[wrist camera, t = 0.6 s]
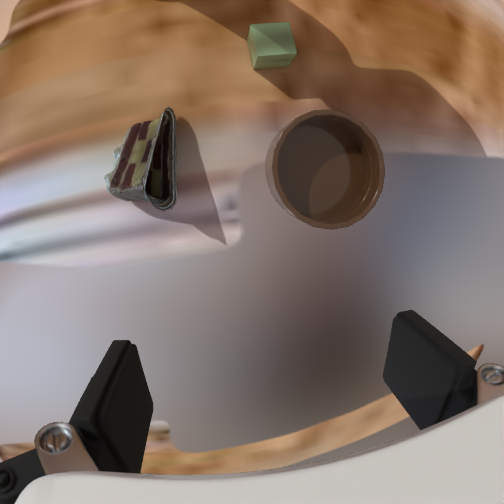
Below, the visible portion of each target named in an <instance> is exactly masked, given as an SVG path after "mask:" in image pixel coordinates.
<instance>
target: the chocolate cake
mask: <svg viewBox="0 0 504 504" xmlns="http://www.w3.org/2000/svg"><path fill="white" fill-rule="evenodd" d="M176 125H177V123H176V120H175V114H174V111H173V110H172V108H170V107H167V108H166V109H165V111H164V112H163V113H162V114H161V116H160V119H156V120H155V121H146V122H143V123H138V124H135V125H133V126H132V127H131V128H129V130H128V132H127V134H126V136H125V138H124V142H123V144H122V146H121V147H120V148H116V149H115V150H114V153H113V155H114V156H115V157H116V159H117V160H116V162H115V165H114V169H113V171H112V172H111V173H109V174H107V175H105V177H104V180H105V181H106V182H107V183H108V184H107V187H106V189H107V191H109V193H110V194H112V195H113V196H115V197H117V198H120V199H123V200H125V201H132V200H145V201H147V202H148V201H149V202H150V203H152V205H153V206H155V207H156V208H157V209H159V210H162V211H166V210H169V209H172V207H173V206H174V205H175V204H176V199H177V187H176V182H177V180H176V147H175V145H176V144H175V143H176V142H175V141H176Z"/></svg>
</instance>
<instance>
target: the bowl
mask: <svg viewBox="0 0 504 504" xmlns="http://www.w3.org/2000/svg"><path fill="white" fill-rule="evenodd" d="M384 176H385V167H384V160H383V154H382V152H381V149H380V147H379V145H378V143H377V140H376V138H375V137H374V135H373V134H372V133H371V132H370V131H369V129H368V128H367V127H366V126H365V125H364V124H363V123H362V122H360V121H359V120H357V119H355V118H354V117H352V116H351V115H349V114H347V113H343V112H339V111H336V110H332V109H328V110H314V111H311V112H309V113H306V114H304V115H302V116H300V117H297V118H296V119H294V120H293V121H292V122H290V123H289V124H288V125H287V126H286V127H284V128H283V129H282V130H281V131H280V132H279V133H278V134H277V135H276V136H275V138H274V140H273V142H272V143H271V145H270V148H269V150H268V154H267V158H266V178H267V182H268V186H269V188H270V191H271V193H272V194H273V196H274V198H275V200H276V201H277V202H278V203H279V205H280V206H281V207H282V208H283V209H284V210H286V211H287V212H288V213H289V214H290V215H292V216H294V217H296V218H297V219H299V220H301V221H303V222H305V223H307V224H309V225H311V226H313V227H317V228H324V229H337V228H343V227H348V226H350V225H352V224H354V223H356V222H357V221H359V220H361V219H363V218H364V217H365V216H366V215H367V214H368V213H369V211H370V210H371V209H372V208H373V207H374V206H375V205H376V202H377V200H378V198H379V196H380V194H381V192H382V189H383V183H384Z"/></svg>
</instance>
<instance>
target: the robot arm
mask: <svg viewBox="0 0 504 504" xmlns="http://www.w3.org/2000/svg"><path fill="white" fill-rule="evenodd" d="M476 362H477V361H476V360H474V359H473V358H472V357H471V356H470V355H468V354H467V353H466V352H465V351H463V350H462V349H461V348H460V347H459V346H457V345H456V344H455V343H454V342H452V341H451V340H450V339H449V338H448V337H446V336H445V335H444V334H443V333H441V332H440V331H439V330H437V329H436V328H435V327H434V326H432V325H431V324H430V323H429V322H427V321H426V320H425V319H424V318H422V317H421V316H420V315H418V314H417V313H416V312H415V311H413V310H408V311H403V312H399V313H398V314H397V316H396V317H394V319H393V324H392V330H391V336H390V342H389V347H388V352H387V357H386V362H385V367H384V372H383V379H384V381H385V383H386V384H387V386H388V387H389V388H390V390H391V391H392V392H393V394H394V395H395V396H396V398H397V399H398V400H399V402H400V403H401V404H402V406H403V407H404V408H405V410H406V411H407V413H408V414H409V415H410V417H411V418H412V419H413V421H414V422H415V423H416V425H417V426H418V427H419V429H420V431H418V432H415V433H413V434H410V435H407V436H405V437H402V438H399V439H396V440H393V441H390V442H387V443H384V444H381V445H378V446H375V447H372V448H369V449H365V450H362V451H358V452H355V453H351V454H347V455H344V456H339V457H336V458H331V459H326V460H322V461H318V462H312V463H307V464H302V465H296V466H290V467H284V468H277V469H270V470H262V471H254V472H244V473H231V474H213V475H155V474H140V472H141V466H142V461H143V456H144V451H145V446H146V441H147V436H148V432H149V427H150V422H151V417H152V413H153V401H152V398H151V395H150V392H149V389H148V385H147V382H146V379H145V375H144V372H143V368H142V365H141V361H140V358H139V354H138V350H137V347H136V345H135V344H131V342H130V341H129V340H114V341H113V342H112V344H111V346H110V347H109V349H108V351H107V353H106V354H105V356H104V358H103V360H102V362H101V364H100V365H99V367H98V369H97V371H96V373H95V375H94V376H93V377H92V378H91V380H90V382H89V384H88V386H87V388H86V390H85V391H84V393H83V395H82V397H81V399H80V401H79V403H78V405H77V407H76V409H75V411H74V413H73V415H72V417H71V419H70V421H69V423H64V422H54V423H50V424H48V425H46V426H44V427H42V428H41V429H40V430H39V431H38V433H37V434H36V436H35V440H34V441H35V447H36V448H35V449H33V450H30V451H28V452H26V453H23V454H21V455H18V456H16V457H13V458H11V459H8V460H6V461H3V462H1V463H0V504H504V367H503V366H500V365H498V364H494V363H487V364H483V365H482V366H480V367H479V368H478V370H477V371H476V370H475V369H474V368H475V365H476Z"/></svg>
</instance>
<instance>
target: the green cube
mask: <svg viewBox="0 0 504 504" xmlns="http://www.w3.org/2000/svg"><path fill="white" fill-rule="evenodd" d="M247 42H248V47H249V51H250V56H251V61H252V66H253V70H254V69H264V68H274V67H287V66H289V65H290V64H291V62H292V61H293V59H294V58H295V56H296V55H297V51H296V47H295V43H294V39H293V35H292V31H291V27H290V24H289V22H282V23H264V24H251V25H250V29H249V34H248V38H247Z"/></svg>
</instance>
